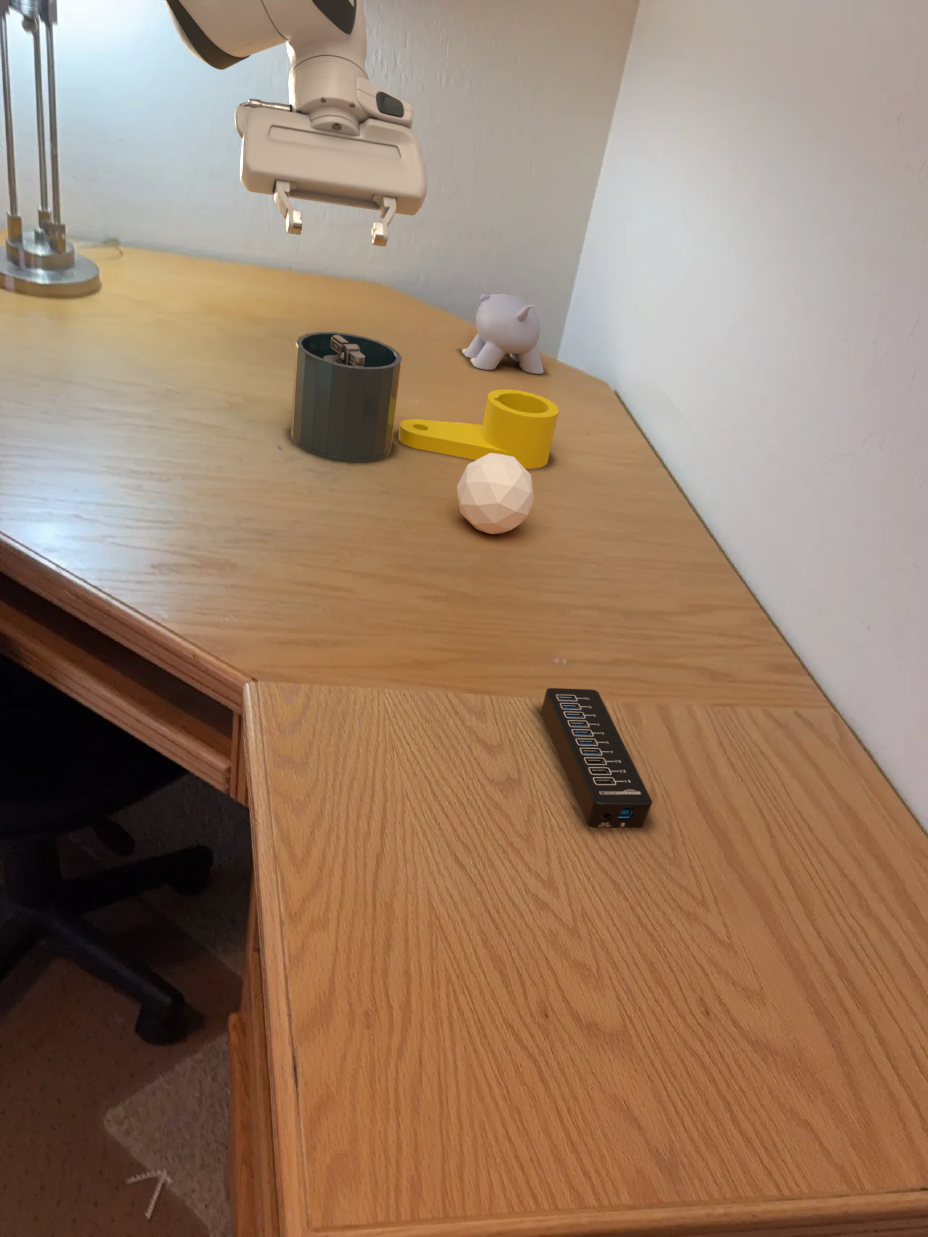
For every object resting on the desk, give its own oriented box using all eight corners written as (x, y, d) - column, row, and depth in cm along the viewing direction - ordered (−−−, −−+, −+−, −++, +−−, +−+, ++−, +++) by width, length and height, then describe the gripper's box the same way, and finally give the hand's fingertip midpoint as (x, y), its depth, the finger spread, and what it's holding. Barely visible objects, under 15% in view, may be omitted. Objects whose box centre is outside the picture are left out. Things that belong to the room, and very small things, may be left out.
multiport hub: (590, 712, 86) (597, 688, 85) (645, 828, 76) (654, 803, 75) (539, 710, 85) (545, 686, 84) (588, 828, 75) (595, 803, 73)
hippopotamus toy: (517, 345, 159) (529, 275, 153) (551, 381, 149) (566, 308, 143) (449, 338, 156) (459, 267, 149) (480, 375, 146) (492, 300, 139)
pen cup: (298, 459, 114) (304, 362, 107) (285, 419, 121) (289, 326, 115) (399, 466, 117) (411, 373, 111) (380, 427, 125) (390, 337, 118)
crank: (541, 445, 130) (552, 395, 126) (552, 472, 124) (564, 421, 120) (396, 425, 126) (402, 373, 122) (400, 452, 120) (407, 398, 116)
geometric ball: (504, 556, 111) (558, 515, 106) (447, 537, 106) (501, 492, 100) (489, 494, 113) (542, 451, 108) (433, 472, 108) (485, 425, 102)
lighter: (371, 450, 118) (381, 356, 111) (344, 452, 116) (353, 357, 109) (338, 422, 122) (346, 330, 116) (311, 423, 120) (318, 330, 114)
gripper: (236, 73, 109) (243, 204, 109) (426, 108, 116) (434, 231, 115) (231, 117, 115) (238, 241, 115) (412, 147, 122) (419, 265, 121)
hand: (337, 236), depth 115 cm, fingers open, 8 cm apart
